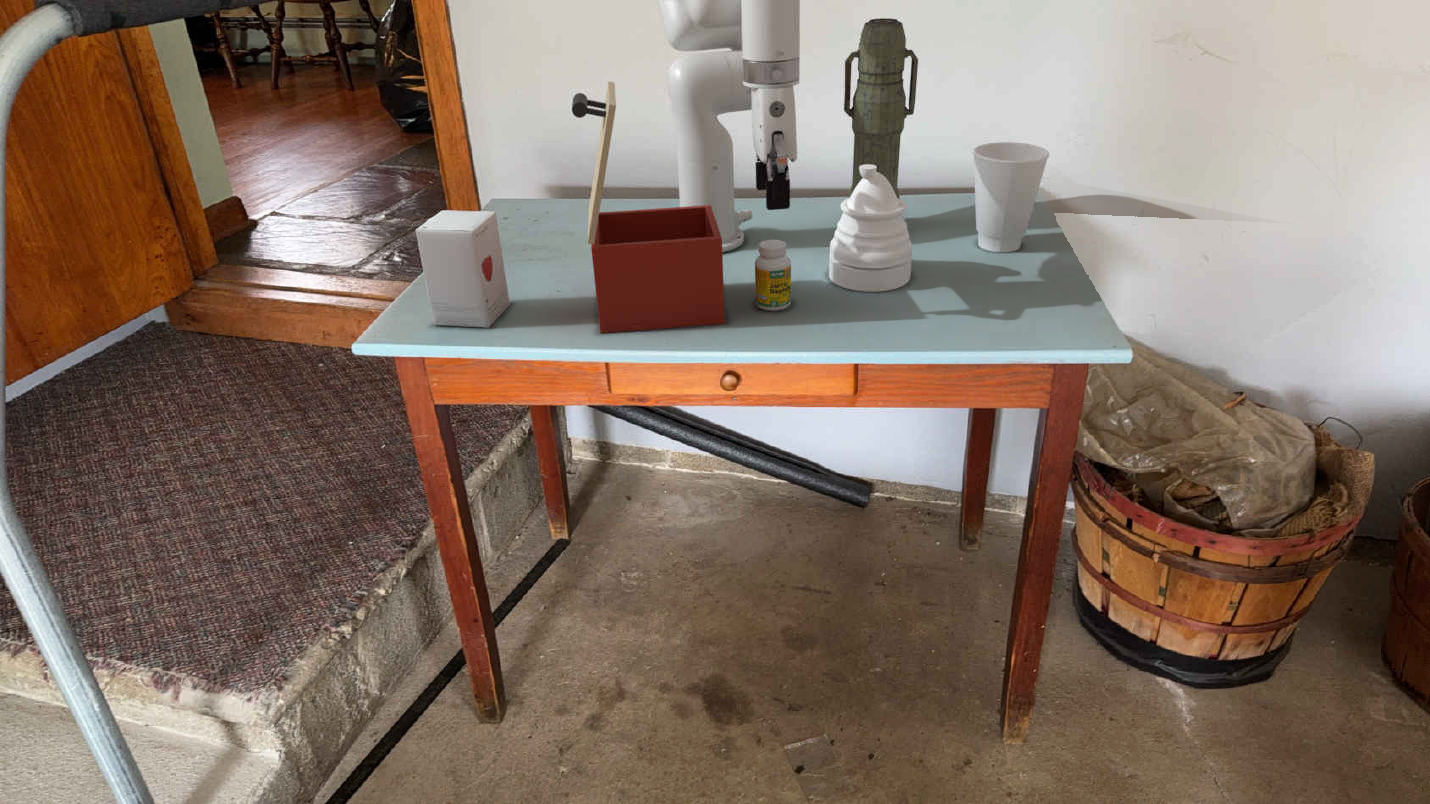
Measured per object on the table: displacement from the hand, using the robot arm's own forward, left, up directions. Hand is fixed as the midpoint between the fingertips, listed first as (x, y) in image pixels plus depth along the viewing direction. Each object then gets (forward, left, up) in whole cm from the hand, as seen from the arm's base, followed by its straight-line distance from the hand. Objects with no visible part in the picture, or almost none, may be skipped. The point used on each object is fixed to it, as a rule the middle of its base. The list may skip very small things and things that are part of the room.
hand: (772, 198), depth 131 cm
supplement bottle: (0, 0, -17) cm, 17 cm away
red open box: (+11, -13, -17) cm, 24 cm away
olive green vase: (-38, -9, -17) cm, 42 cm away
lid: (+16, -17, +6) cm, 24 cm away
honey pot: (-19, +4, -17) cm, 25 cm away
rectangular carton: (+31, -33, -17) cm, 48 cm away
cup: (-44, +13, -17) cm, 49 cm away
